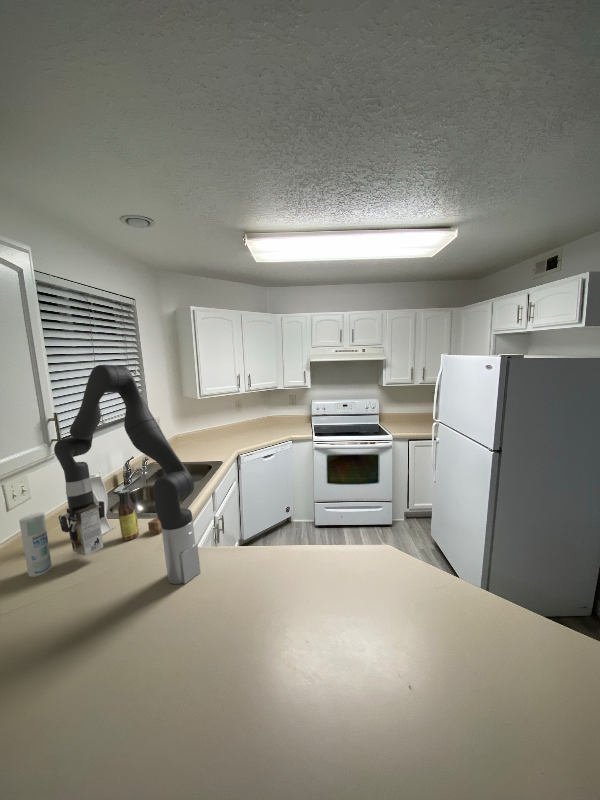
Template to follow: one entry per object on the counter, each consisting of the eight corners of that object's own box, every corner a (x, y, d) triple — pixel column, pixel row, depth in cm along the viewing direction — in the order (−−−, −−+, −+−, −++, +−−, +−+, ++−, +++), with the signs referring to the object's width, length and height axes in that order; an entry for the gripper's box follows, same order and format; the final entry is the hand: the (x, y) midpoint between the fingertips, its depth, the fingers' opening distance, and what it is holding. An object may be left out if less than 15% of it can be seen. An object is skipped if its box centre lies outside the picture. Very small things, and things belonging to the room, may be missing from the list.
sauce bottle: (142, 535, 123) (136, 489, 122) (126, 543, 118) (120, 495, 117) (134, 532, 127) (128, 487, 126) (119, 539, 122) (112, 492, 121)
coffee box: (72, 551, 107) (65, 509, 106) (91, 542, 113) (85, 501, 112) (85, 556, 103) (78, 512, 102) (104, 546, 109) (98, 504, 108)
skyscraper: (118, 528, 133) (109, 467, 131) (101, 537, 125) (92, 473, 123) (103, 527, 135) (95, 467, 133) (86, 536, 127) (77, 473, 125)
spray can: (36, 578, 100) (27, 521, 99) (23, 576, 102) (14, 520, 100) (56, 566, 106) (48, 512, 105) (44, 564, 108) (35, 512, 107)
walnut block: (167, 528, 128) (166, 517, 128) (159, 534, 123) (157, 523, 123) (157, 528, 129) (156, 517, 129) (149, 534, 124) (147, 522, 124)
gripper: (60, 500, 99) (68, 548, 100) (106, 485, 111) (112, 527, 112) (50, 498, 102) (58, 544, 103) (95, 483, 115) (102, 524, 116)
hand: (86, 535), depth 108 cm, fingers closed on coffee box, 6 cm apart
